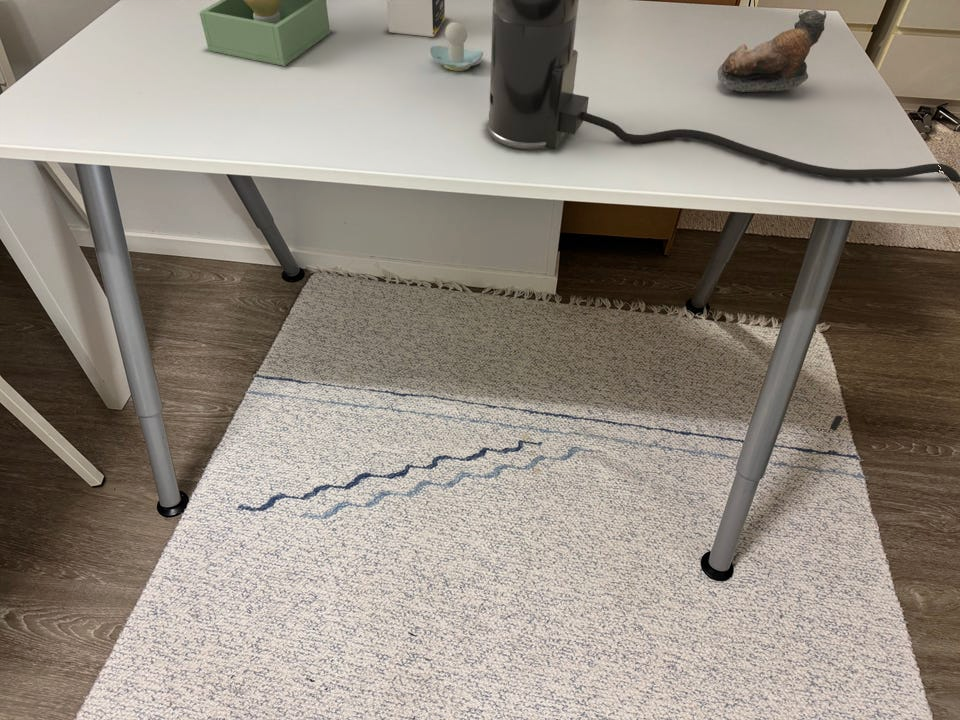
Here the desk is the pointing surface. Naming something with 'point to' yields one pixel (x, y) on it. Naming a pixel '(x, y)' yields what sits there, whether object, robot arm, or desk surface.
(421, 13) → the white box
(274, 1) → the light bulb
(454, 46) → the pacifier
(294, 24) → the green open-top box
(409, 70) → the desk surface
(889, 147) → the desk surface
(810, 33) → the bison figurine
